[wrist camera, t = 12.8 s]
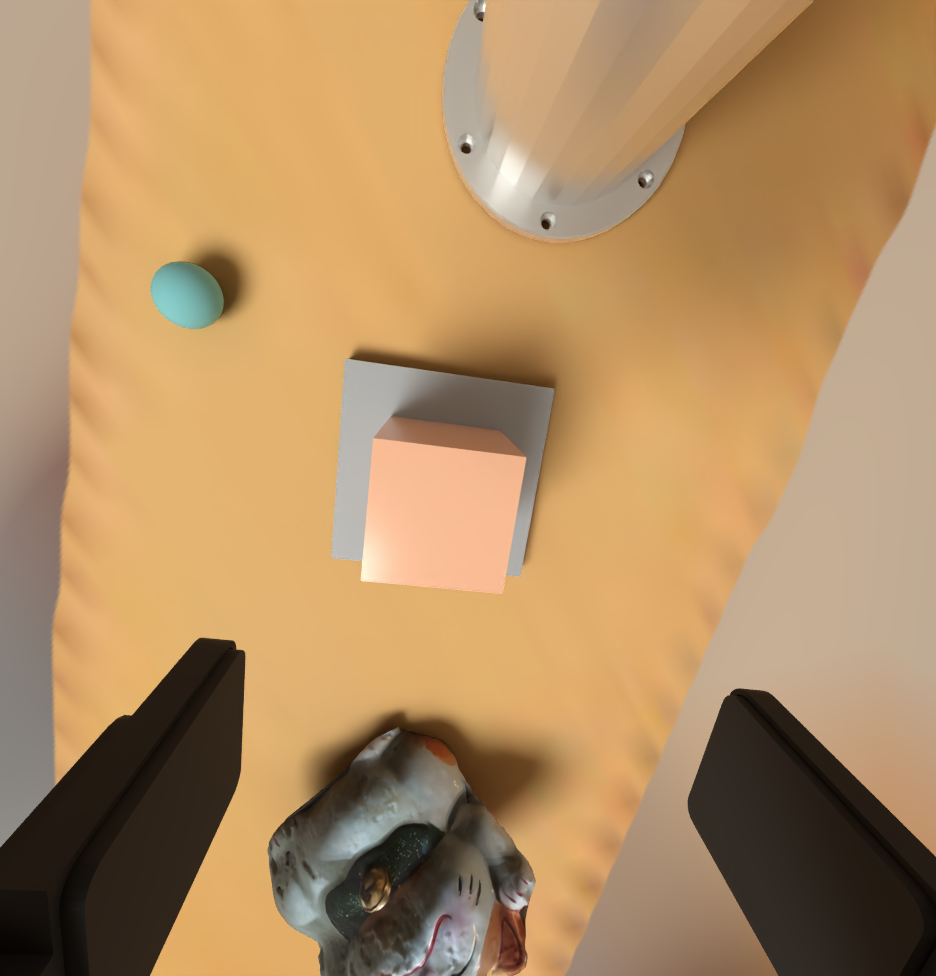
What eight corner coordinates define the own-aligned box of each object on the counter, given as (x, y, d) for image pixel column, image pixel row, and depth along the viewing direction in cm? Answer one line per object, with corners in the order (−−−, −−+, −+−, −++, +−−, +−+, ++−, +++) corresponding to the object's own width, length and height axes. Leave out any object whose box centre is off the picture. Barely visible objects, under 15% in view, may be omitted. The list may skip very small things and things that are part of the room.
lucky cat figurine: (429, 693, 33) (548, 919, 22) (474, 753, 40) (579, 944, 30) (231, 834, 29) (262, 1178, 19) (321, 871, 37) (378, 1131, 27)
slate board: (348, 358, 26) (345, 358, 25) (550, 387, 28) (554, 388, 27) (335, 550, 29) (331, 558, 28) (517, 568, 31) (520, 576, 30)
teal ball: (172, 263, 24) (134, 249, 21) (234, 273, 25) (206, 261, 22) (173, 326, 25) (137, 321, 22) (233, 334, 26) (206, 331, 23)
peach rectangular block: (390, 415, 26) (373, 438, 19) (500, 430, 27) (526, 457, 19) (380, 520, 28) (360, 580, 20) (484, 531, 29) (502, 594, 21)
